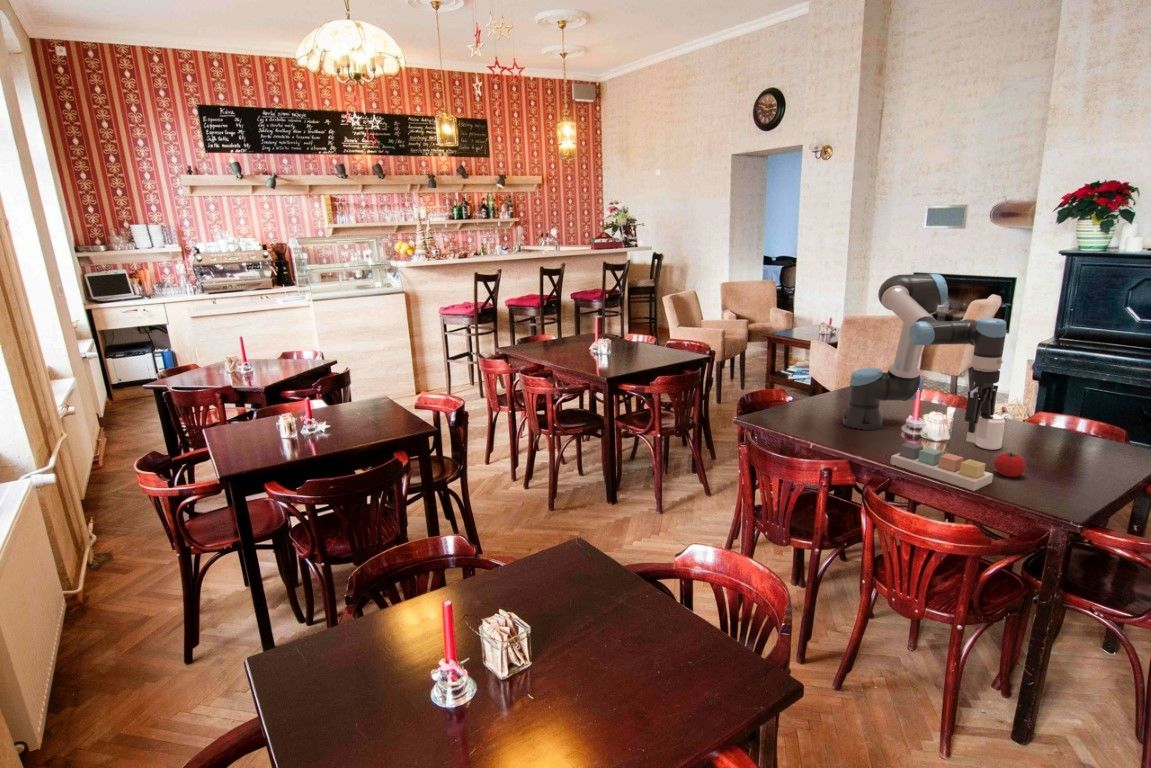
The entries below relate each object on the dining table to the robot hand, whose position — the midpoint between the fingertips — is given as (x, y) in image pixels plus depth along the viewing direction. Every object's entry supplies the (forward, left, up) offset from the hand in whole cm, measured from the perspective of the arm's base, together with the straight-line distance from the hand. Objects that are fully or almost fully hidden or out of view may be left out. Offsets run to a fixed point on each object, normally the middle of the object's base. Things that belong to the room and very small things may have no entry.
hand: (976, 439), depth 200 cm
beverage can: (-13, +38, -15) cm, 43 cm away
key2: (-14, 0, -12) cm, 18 cm away
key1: (-20, 0, -12) cm, 24 cm away
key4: (0, 0, -12) cm, 12 cm away
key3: (-7, 0, -12) cm, 14 cm away
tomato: (+4, +16, -15) cm, 22 cm away
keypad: (-10, 0, -15) cm, 18 cm away
